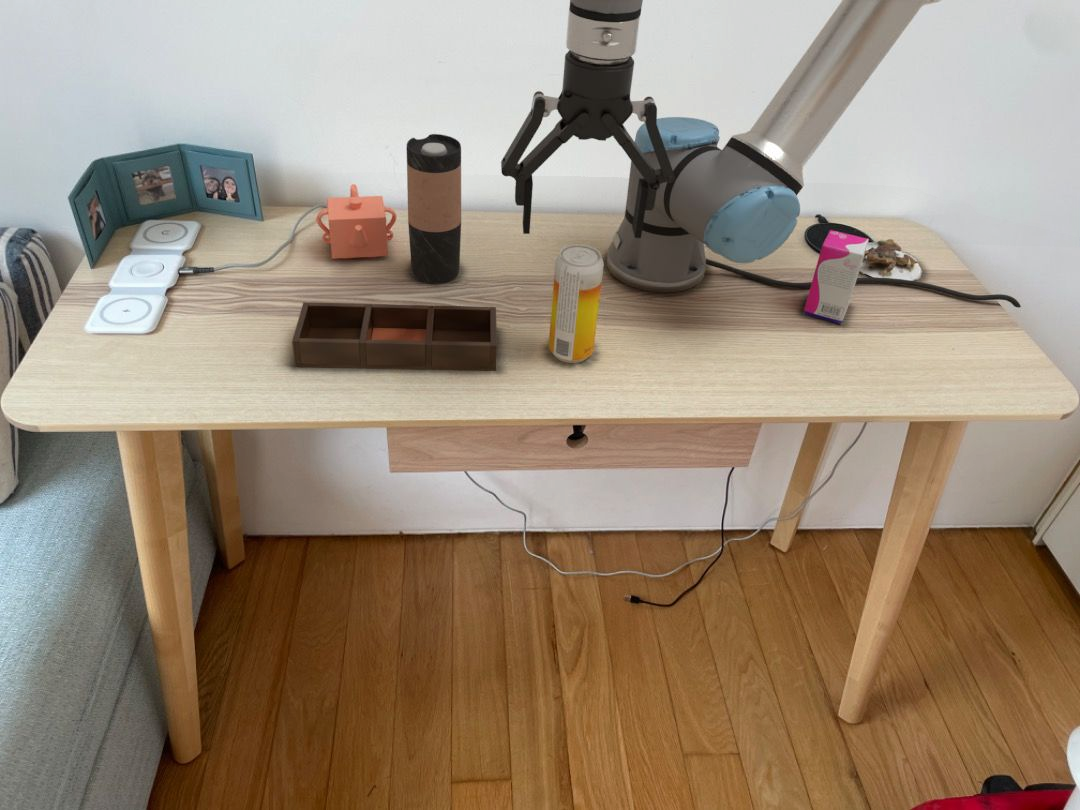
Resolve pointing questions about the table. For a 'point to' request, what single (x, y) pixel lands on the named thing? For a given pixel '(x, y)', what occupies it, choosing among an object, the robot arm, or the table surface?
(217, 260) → the table surface
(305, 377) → the table surface
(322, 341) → the rack
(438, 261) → the travel mug
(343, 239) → the teapot
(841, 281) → the supplement box
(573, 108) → the robot arm
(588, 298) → the beer can
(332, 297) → the table surface
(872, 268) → the plate of food
